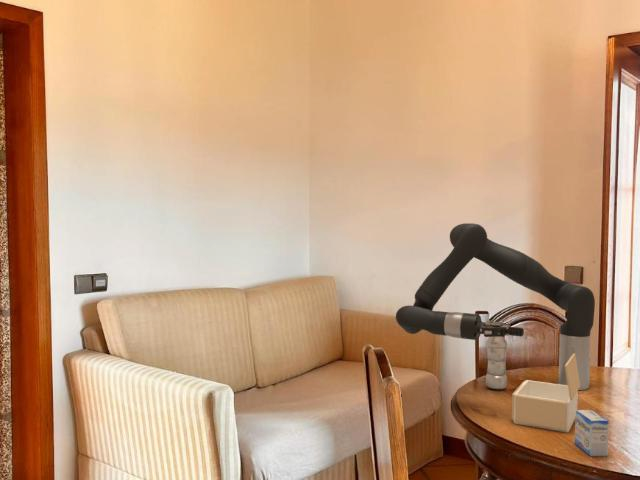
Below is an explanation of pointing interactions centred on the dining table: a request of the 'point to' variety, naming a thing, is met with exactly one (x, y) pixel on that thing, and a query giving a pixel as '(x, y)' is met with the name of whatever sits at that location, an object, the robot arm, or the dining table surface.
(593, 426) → the medicine box
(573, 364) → the flap
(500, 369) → the plastic bottle
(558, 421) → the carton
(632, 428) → the dining table surface
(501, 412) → the dining table surface
